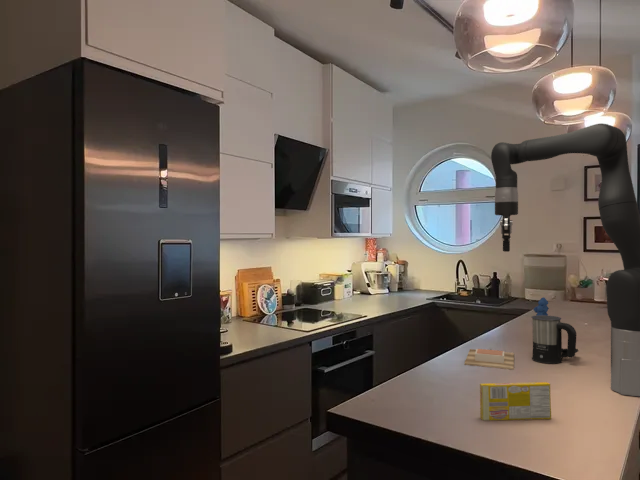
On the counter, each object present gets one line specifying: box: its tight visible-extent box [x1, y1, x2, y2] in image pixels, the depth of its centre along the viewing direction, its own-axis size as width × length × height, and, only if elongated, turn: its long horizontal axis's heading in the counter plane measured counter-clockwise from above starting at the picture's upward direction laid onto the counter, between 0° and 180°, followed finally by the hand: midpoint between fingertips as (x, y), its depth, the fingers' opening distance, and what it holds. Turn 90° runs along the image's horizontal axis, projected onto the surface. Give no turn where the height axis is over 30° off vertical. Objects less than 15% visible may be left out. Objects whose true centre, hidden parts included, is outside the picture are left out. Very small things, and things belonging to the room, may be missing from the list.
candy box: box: [479, 381, 552, 421], centre depth 109 cm, size 16×2×8 cm, turn 92°
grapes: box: [533, 296, 550, 316], centre depth 228 cm, size 12×7×12 cm, turn 138°
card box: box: [475, 348, 505, 363], centre depth 158 cm, size 3×9×6 cm
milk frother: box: [531, 314, 579, 365], centre depth 161 cm, size 14×16×15 cm
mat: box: [464, 348, 515, 370], centre depth 161 cm, size 20×15×1 cm
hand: (506, 251), depth 162 cm, fingers closed
